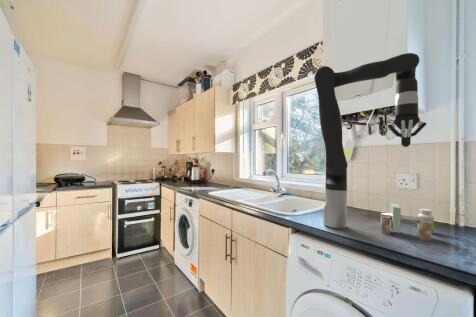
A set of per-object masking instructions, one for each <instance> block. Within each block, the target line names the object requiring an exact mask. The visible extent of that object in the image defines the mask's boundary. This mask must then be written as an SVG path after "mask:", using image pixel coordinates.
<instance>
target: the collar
mask: <svg viewBox="0 0 476 317" xmlns="http://www.w3.org/2000/svg"><path fill="white" fill-rule="evenodd" d="M401 209H402V208H401V207H400V205H399V204H398V203H392V202H391V203H390V214H392V220H391V219H390V229H391V230H392V232H395V233H401V221H400V216H401V215H402V214H401Z"/></svg>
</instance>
